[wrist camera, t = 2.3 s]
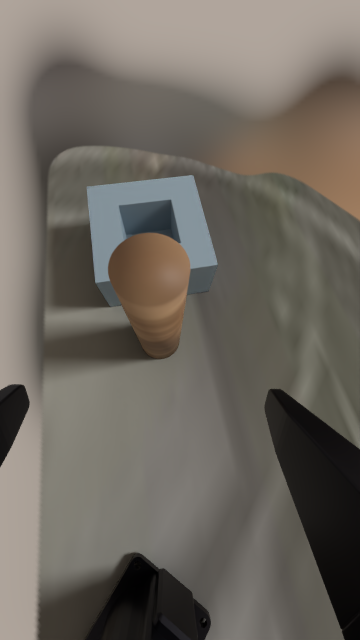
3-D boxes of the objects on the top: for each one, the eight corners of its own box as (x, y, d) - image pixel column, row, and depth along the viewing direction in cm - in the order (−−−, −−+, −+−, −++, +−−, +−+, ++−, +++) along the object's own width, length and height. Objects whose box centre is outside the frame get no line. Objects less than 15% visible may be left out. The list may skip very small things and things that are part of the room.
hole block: (208, 291, 25) (217, 264, 20) (110, 306, 24) (95, 282, 19) (189, 213, 28) (193, 175, 23) (101, 224, 27) (86, 186, 22)
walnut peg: (164, 366, 22) (159, 320, 10) (133, 344, 23) (90, 275, 10) (186, 335, 23) (206, 258, 11) (156, 315, 24) (141, 220, 11)
